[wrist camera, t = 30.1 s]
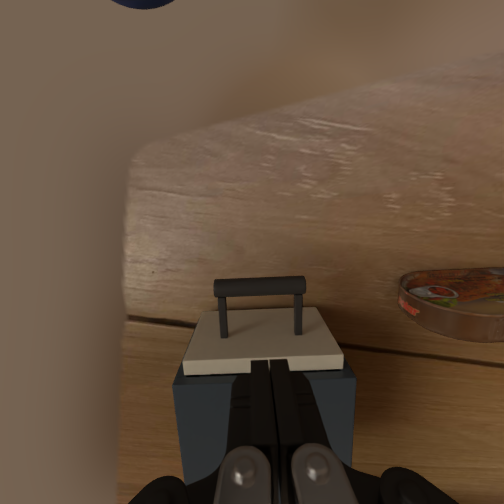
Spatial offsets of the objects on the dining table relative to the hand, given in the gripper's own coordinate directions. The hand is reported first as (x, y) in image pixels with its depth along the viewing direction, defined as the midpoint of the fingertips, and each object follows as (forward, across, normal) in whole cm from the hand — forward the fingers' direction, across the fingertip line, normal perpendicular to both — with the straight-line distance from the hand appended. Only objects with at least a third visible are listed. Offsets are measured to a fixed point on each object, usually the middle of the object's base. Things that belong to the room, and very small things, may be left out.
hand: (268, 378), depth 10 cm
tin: (+16, -20, +3) cm, 26 cm away
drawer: (+14, 0, +8) cm, 17 cm away
